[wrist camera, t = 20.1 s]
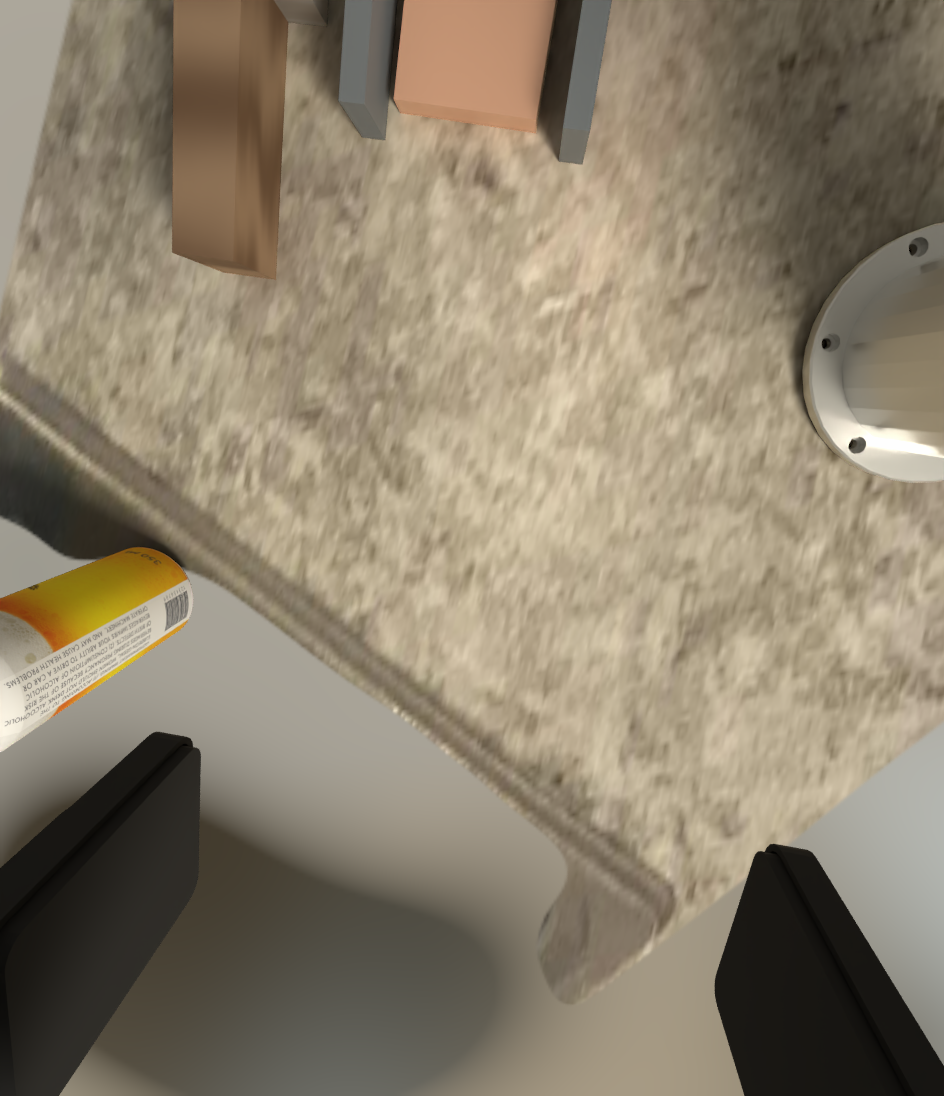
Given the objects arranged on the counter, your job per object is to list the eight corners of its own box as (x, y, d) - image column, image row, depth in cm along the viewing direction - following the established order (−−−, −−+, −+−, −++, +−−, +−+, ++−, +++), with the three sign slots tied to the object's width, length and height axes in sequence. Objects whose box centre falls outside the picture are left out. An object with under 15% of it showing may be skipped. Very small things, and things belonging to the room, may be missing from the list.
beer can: (103, 542, 38) (-158, 636, 24) (194, 544, 37) (-17, 641, 23) (118, 631, 40) (-118, 769, 25) (205, 634, 39) (14, 777, 25)
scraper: (311, 284, 33) (273, 266, 28) (189, 267, 33) (132, 246, 28) (329, -12, 29) (290, -91, 24) (193, -27, 30) (128, -108, 25)
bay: (647, -72, 27) (666, -148, 24) (605, 167, 30) (617, 134, 26) (355, -101, 28) (328, -179, 24) (339, 134, 31) (312, 97, 27)
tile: (563, -29, 29) (565, -60, 27) (535, 136, 30) (536, 119, 29) (420, -48, 29) (412, -80, 27) (402, 117, 31) (393, 99, 29)
